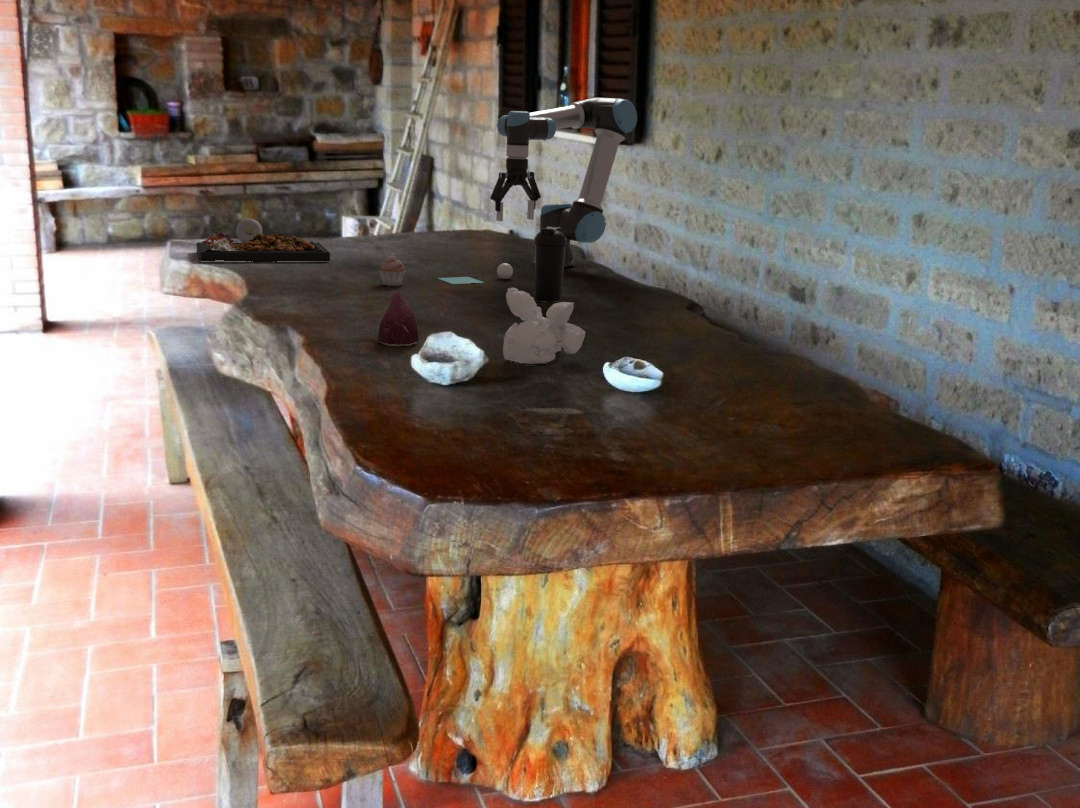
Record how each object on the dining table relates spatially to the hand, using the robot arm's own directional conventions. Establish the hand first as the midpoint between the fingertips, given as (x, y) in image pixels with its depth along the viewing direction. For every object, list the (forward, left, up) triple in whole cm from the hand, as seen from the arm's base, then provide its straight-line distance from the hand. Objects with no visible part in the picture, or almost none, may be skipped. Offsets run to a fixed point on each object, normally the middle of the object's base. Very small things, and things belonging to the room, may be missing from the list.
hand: (515, 220), depth 398 cm
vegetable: (+80, +84, -20) cm, 118 cm away
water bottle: (+11, +42, -20) cm, 48 cm away
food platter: (+71, -62, -21) cm, 96 cm away
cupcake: (+48, +4, -20) cm, 52 cm away
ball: (+5, +2, -17) cm, 18 cm away
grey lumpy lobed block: (+53, +111, -20) cm, 125 cm away
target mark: (+22, +2, -20) cm, 29 cm away
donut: (+66, -97, -20) cm, 118 cm away
